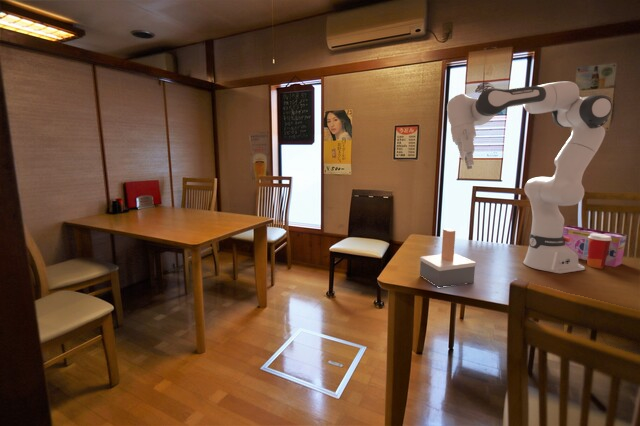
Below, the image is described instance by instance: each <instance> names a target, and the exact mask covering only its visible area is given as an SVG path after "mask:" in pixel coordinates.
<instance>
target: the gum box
mask: <svg viewBox="0 0 640 426" xmlns="http://www.w3.org/2000/svg"><path fill="white" fill-rule="evenodd" d="M592 233H596V234H605V235H608V236H611V239H612V240H611V241H610V245H609V250H608V254H607V258H606V262H605V265H604V266H609V267H613V268H615V267H618V266H620V265H622V264H623V259H624V253H625V246H626V241H627V236H628V235H627V234H626V233H625V234H624V233H618V232H612V231H606V230H599V229H593V228H588V227H582V226H575V225H569V224H567V225H565V224H564V227H563V235H562V236H563V237H568V238H571V241H570V242H566V241H565V245H566V246H567V247H569V248H570V249H571V250H572V251H574V252H575V253H576V254H577V255H578V260H579V259H580V260H585V261H587V258H588V244H589V237H588V236H589V235H590V234H592Z"/></svg>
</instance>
